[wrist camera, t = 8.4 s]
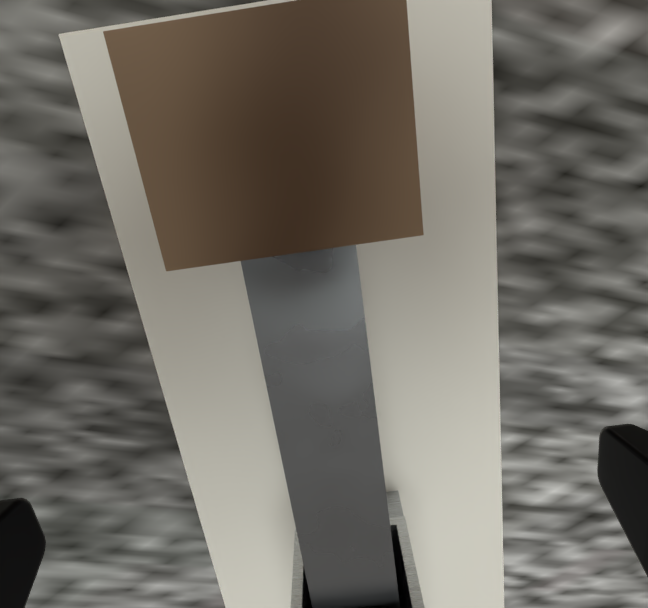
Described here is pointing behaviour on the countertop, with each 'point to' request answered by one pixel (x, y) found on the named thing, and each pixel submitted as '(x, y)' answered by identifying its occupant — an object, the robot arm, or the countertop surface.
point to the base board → (381, 325)
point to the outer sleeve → (403, 560)
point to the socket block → (273, 128)
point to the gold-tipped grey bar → (326, 421)
